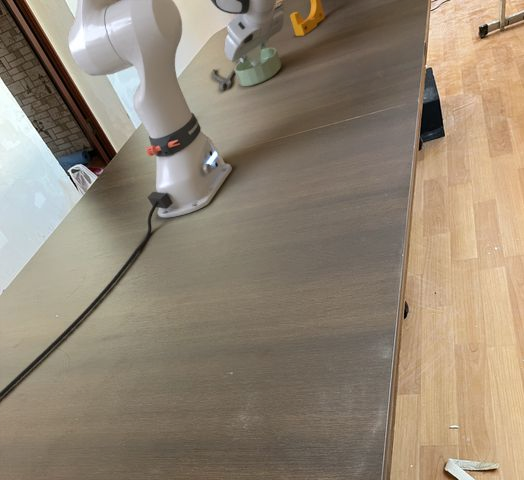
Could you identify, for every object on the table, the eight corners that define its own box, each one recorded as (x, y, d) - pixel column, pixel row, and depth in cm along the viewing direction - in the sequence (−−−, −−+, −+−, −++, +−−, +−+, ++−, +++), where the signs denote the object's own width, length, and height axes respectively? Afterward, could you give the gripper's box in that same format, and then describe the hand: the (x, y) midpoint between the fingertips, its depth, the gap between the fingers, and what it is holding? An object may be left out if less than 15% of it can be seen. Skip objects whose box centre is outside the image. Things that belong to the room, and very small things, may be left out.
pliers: (239, 56, 175) (240, 80, 157) (240, 59, 175) (241, 82, 158) (212, 69, 177) (209, 93, 160) (213, 71, 178) (211, 96, 161)
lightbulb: (265, 66, 158) (252, 30, 150) (272, 70, 153) (259, 32, 146) (248, 76, 158) (234, 40, 150) (255, 80, 153) (241, 43, 146)
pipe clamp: (304, 35, 166) (298, 14, 162) (295, 35, 169) (289, 15, 165) (328, 17, 169) (323, -4, 165) (319, 18, 172) (314, -3, 168)
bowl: (277, 78, 149) (271, 61, 145) (236, 92, 154) (229, 76, 151) (285, 59, 157) (280, 42, 154) (245, 73, 163) (239, 57, 160)
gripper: (277, -9, 140) (270, 28, 154) (222, 28, 136) (220, 63, 150) (291, 8, 140) (283, 44, 154) (236, 45, 136) (233, 78, 150)
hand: (252, 53), depth 152 cm, fingers closed on lightbulb, 6 cm apart
